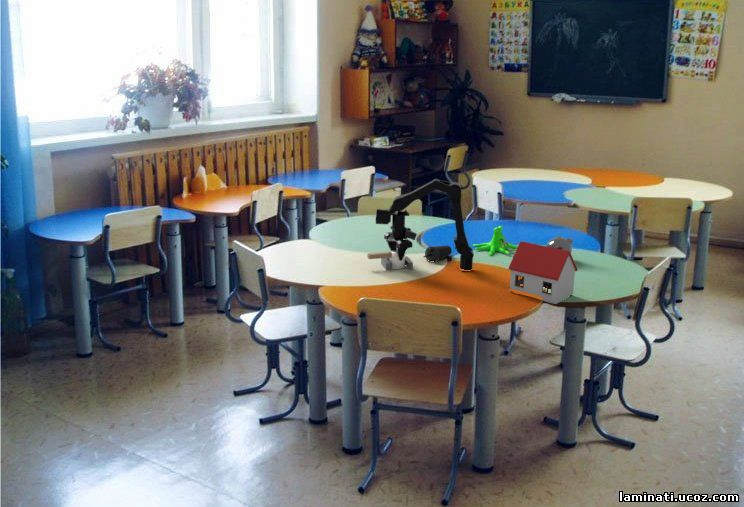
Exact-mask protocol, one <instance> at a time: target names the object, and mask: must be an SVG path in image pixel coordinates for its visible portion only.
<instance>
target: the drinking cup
mask: <svg viewBox="0 0 744 507" xmlns="http://www.w3.org/2000/svg"><path fill="white" fill-rule="evenodd" d="M452 253H453V250H452V247H451V246H450V245H447V244H446V245H438V246H437V245H436V246H433V245H431V246H428V247H427V248H426V249H425V251H424V255H423V258H425V259H426V260H427V261H428V260H429V261H428V262H430V261H434V262H433V263H436V262H438V261H440V260H441V259H443V258H446V257H448V256H450V255H451V254H452Z"/></svg>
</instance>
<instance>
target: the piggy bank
mask: <svg viewBox="0 0 744 507" xmlns="http://www.w3.org/2000/svg"><path fill="white" fill-rule="evenodd" d="M573 243H574V240H573V238H572V237H568V238H565V237H562V236H561V235H557V236H556V237H554V238H551V239H550V240H549V241H548V242H547V244H546V246H547V247H552V248H556V249H558V247H563V249H562V250H566V251H570V253H571V254H572V252H573V247H572V244H573Z"/></svg>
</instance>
